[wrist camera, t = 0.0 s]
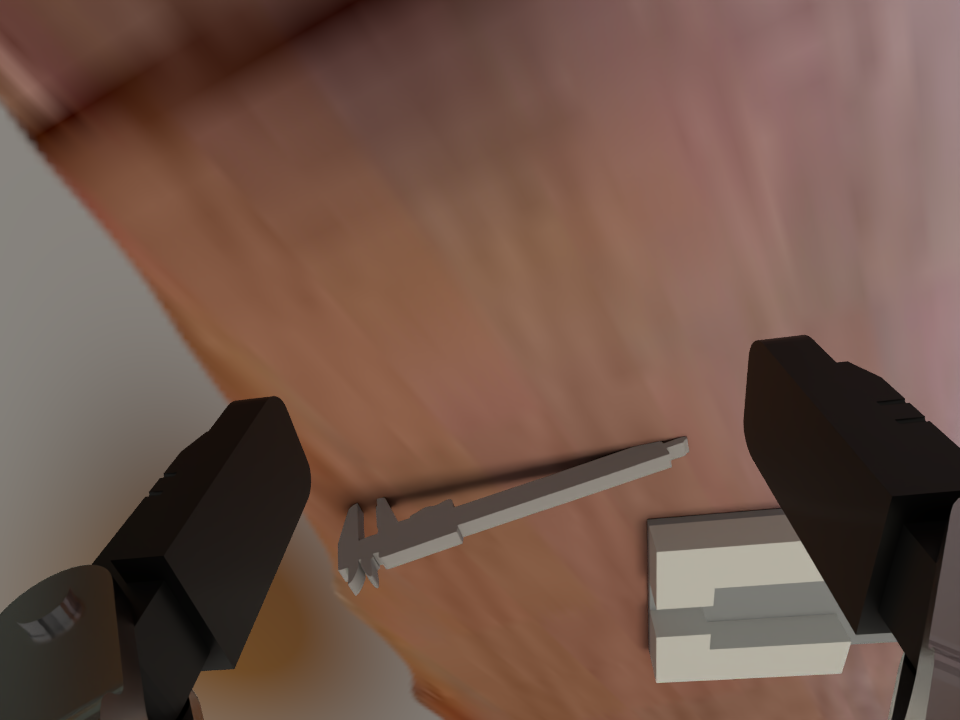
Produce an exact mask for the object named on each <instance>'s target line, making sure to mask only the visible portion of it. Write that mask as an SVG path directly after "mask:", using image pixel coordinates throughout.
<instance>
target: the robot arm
mask: <svg viewBox="0 0 960 720" xmlns="http://www.w3.org/2000/svg"><path fill="white" fill-rule="evenodd" d="M744 434H745V439H746V443H747V447H748V450H749V453H750V455H751V457H752V459H753V461H754V462H755V464H756V466H757V467H758V469H759V471H760V473H761V474H762V476H763V478H764V479H765V481H766V483H767V484H768V486H769V488H770V490H771V491H772V493H773V495H774V496H775V498H776V500H777V502H778V503H779V505H780V507H781V508H782V510H783V512H784V513H785V515H786V517H787V519H788V520H789V522H790V524H791V525H792V527H793V529H794V530H795V532H796V534H797V536H798V537H799V539H800V541H801V542H802V544H803V546H804V548H805V549H806V551H807V553H808V554H809V556H810V558H811V559H812V561H813V563H814V565H815V566H816V568H817V570H818V571H819V573H820V575H821V576H822V578H823V580H824V582H825V583H826V585H827V587H828V588H829V590H830V592H831V594H832V595H833V597H834V599H835V600H836V602H837V604H838V605H839V607H840V609H841V611H842V612H843V614H844V616H845V617H846V619H847V621H848V622H849V624H850V626H851V628H852V629H853V631H854V633H855V634H856V635H865V634H882V633H892V634H893V635H894V637H895V639H896V640H897V642H898V643H899V645H900V646H901V648H902V649H903V651H904V653H903V656H902V659H901V662H900V665H899V668H898V673H897V678H896V683H895V688H894V693H893V697H892V702H891V707H890V712H889V717H888V720H960V448H959V447H958V446H957V445H956V444H955V443H954V442H952V441H951V440H950V439H949V438H948V437H947V436H946V435H945V434H944V433H942V432H941V431H940V430H939V429H938V428H937V427H936V426H935V425H934V424H932V423H931V422H930V421H928V422H926V421H925V416H924V415H923V414H921V413H920V412H919V411H918V410H917V409H916V408H915V407H914V406H913V405H911V404H910V403H905V398H904V397H903V396H901V395H900V394H899V393H898V392H897V391H896V390H895V389H894V388H893V387H891V386H890V385H889V384H888V383H887V382H886V381H885V380H884V379H883V378H881V377H879V376H877V375H875V374H873V373H871V372H869V371H867V370H864V369H862V368H860V367H858V366H856V365H854V364H852V363H850V362H848V361H847V362H838V363H836V362H835V361H834V360H833V359H832V358H831V357H830V356H829V355H828V354H827V353H826V352H825V351H824V350H823V349H822V348H821V347H820V346H819V345H818V344H817V343H816V342H815V341H814V340H813V339H812V338H810V337H809V336H807V335H799V336H791V337H782V338H774V339H765V340H757V341H755V342H753V344H752V345H751V348H750V352H749V360H748V372H747V384H746V397H745V409H744ZM310 488H311V473H310V468H309V464H308V461H307V459H306V456H305V454H304V451H303V449H302V446H301V443H300V441H299V438H298V436H297V433H296V431H295V428H294V426H293V423H292V421H291V418H290V416H289V413H288V411H287V408H286V406H285V404H284V403H283V401H282V400H281V399H280V398H278V397H276V396H272V397H263V398H255V399H246V400H238V401H233V402H232V403H230V404H229V405H228V406H227V408H226V409H225V410H224V412H223V413H222V414H221V416H220V417H219V418H218V420H217V421H216V422H215V424H214V425H213V426H212V427H211V429H210V430H209V431H208V432H206V433H205V434H203V435H202V436H201V437H199V438H198V439H197V440H195V441H194V442H193V443H192V444H190V445H189V446H188V447H186V448H185V449H184V450H183V451H181V453H180V454H179V455H178V456H177V457H176V459H175V460H174V461H173V462H172V464H171V465H170V466H169V467H168V469H167V470H166V471H165V473H164V478H160V479H159V480H158V481H157V483H156V484H155V485H154V486H153V488H152V489H151V490H150V491H149V494H150V495H149V497H145V498H144V499H143V500H142V502H141V503H140V504H139V505H138V507H137V508H136V509H135V511H134V512H133V513H132V514H131V516H130V517H129V518H128V519H127V521H126V522H125V523H124V524H123V526H122V527H121V528H120V529H119V531H118V532H117V533H116V535H115V536H114V537H113V538H112V539H111V541H110V542H109V543H108V545H107V546H106V547H105V548H104V550H103V551H102V552H101V553H100V555H99V556H98V557H97V558H96V560H95V561H94V562H93V563H92V565H83V566H77V567H74V568H70V569H67V570H64V571H61V572H59V573H57V574H54V575H52V576H50V577H48V578H46V579H45V580H43V581H41V582H39V583H38V584H36V585H35V586H33V587H31V588H30V589H28V590H27V591H26V592H25V593H23V594H22V595H20V596H19V597H18V598H17V599H15V600H14V601H13V602H12V603H11V604H9V605H8V607H6V608H5V609H4V610H3V612H2V613H1V614H0V720H204V719H203V714H202V710H201V705H200V702H199V699H198V697H197V696H196V694H195V692H194V691H193V690H192V688H193V686H194V684H195V682H196V680H197V678H198V676H199V674H200V672H201V671H207V670H208V671H209V670H226V669H235V666H236V664H237V662H238V659H239V657H240V655H241V652H242V650H243V647H244V645H245V643H246V641H247V638H248V636H249V634H250V632H251V629H252V627H253V625H254V622H255V620H256V618H257V615H258V613H259V611H260V609H261V606H262V604H263V601H264V599H265V597H266V595H267V592H268V590H269V588H270V585H271V583H272V580H273V579H274V576H275V574H276V572H277V569H278V567H279V565H280V562H281V560H282V558H283V555H284V553H285V551H286V548H287V546H288V544H289V542H290V539H291V537H292V534H293V532H294V530H295V528H296V525H297V523H298V521H299V519H300V516H301V514H302V512H303V509H304V507H305V505H306V502H307V500H308V497H309V494H310Z"/></svg>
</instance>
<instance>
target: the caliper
mask: <svg viewBox="0 0 960 720" xmlns="http://www.w3.org/2000/svg"><path fill="white" fill-rule="evenodd" d="M688 452H689V447H688V441H687V437H681V438H677V439H674V440H672V441H669V442H666V443H662V441H660V442H655V443H650V444H645V445H640V446H635V447H631V448H628V449H626V450H623V451H620V452H617V453H614V454H611V455H608V456H605V457H602V458H599V459H596V460H593V461H591V462H588V463H585V464H582V465H579V466H576V467H573V468H570V469H567V470H564V471H561V472H558V473H556V474H553V475H550V476H547V477H544V478H541V479H538V480H535V481H532V482H529V483H526V484H523V485H520V486H517V487H514V488H511V489H508V490H505V491H502V492H499V493H496V494H493V495H490V496H487V497H484V498H481V499H478V500H475V501H472V502H469V503H466V504H463V505H460V506H457V507H455V506H454V504H453V502H452V500H451V499H448V500H445V501H443V502H442V503H440V504H438V505H435V506H429V507H425V508H423V509H422V510H420V511H418V512H417V513H415V514H413V515H412V516H410V518H409V519H406V520H403V521H400V522H398V521H397V519H396V517H395V515H394V513H393V512H392V510H391V508H390V506H389V504H388V503H387V501H386V499H385V498H384V497H383V498H379V499H377V506H376V517H377V527H378V534H375V535H372V536H369V537H367V538H364V514H363V512H362V510H361V509H360V507H359V505H358V503H357V504H355V505H353V506H352V507H351V508H349V511H348V514H347V516H346V519H345V523H344V526H343V529H342V533H341V536H340V539H339V543H338V571H339V572H340V574H341V575H342V577H343V578H344V580H345V581H346V582H347V581H348V585H349V586H350V588H351V590H352V591H353V593H354V594H355V596H356V595H357V594H358V593H359V592H360V590H361V588H362V586H363V584H364V581H365V574H366V575H367V577H368V578H369V580H370V581H371V583H372V584H373V585H374V586H375V587H376V588H378V587H379V578H378V573H377V570H378V569H379V568H380V565H382V564H383V565H384V566H385V568H386V569H390V568H393V567H396V566H399V565H402V564H405V563H408V562H411V561H413V560H416V559H419V558H422V557H425V556H428V555H431V554H433V553H436V552H439V551H442V550H445V549H448V548H451V547H454V546H456V545H459V544H462V543H463V537H465V536H468V535H471V534H474V533H477V532H480V531H483V530H486V529H489V528H492V527H495V526H498V525H501V524H504V523H507V522H510V521H513V520H516V519H519V518H522V517H525V516H528V515H531V514H534V513H537V512H540V511H543V510H546V509H549V508H552V507H555V506H558V505H561V504H564V503H567V502H570V501H573V500H576V499H579V498H582V497H585V496H588V495H591V494H594V493H597V492H600V491H603V490H605V489H608V488H611V487H614V486H617V485H620V484H623V483H626V482H629V481H632V480H635V479H638V478H641V477H644V476H647V475H650V474H653V473H656V472H659V471H661V470H664V469H667V468H670V467H672V465H671V460H673V459H676V458H679V457H682V456H685V455H686V453H688Z"/></svg>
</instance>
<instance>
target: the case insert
mask: <svg viewBox="0 0 960 720" xmlns="http://www.w3.org/2000/svg"><path fill="white" fill-rule="evenodd" d="M647 528H648V631H649V653H650V657H651V662H652V666H653V670H654V675H655V679H656V683H664V682H684V681H703V680H723V679H743V678H762V677H782V676H802V675H821V674H841V673H842V670H843V667H844V664H845V661H846V657H847V654H848V651H849V647H850V644H867V643H885V642H897V640H896V639H895V637H894V635H893V634H892V633H882V634H865V635H856V634H855V633H854V631H853V629H852V628H851V626H850V624H849V622H848V621H847V619H846V617H845V616H844V614H843V612H842V611H841V609H840V607H839V605H838V604H837V602H836V600H835V599H834V597H833V595H832V594H831V592H830V590H829V588H828V587H827V585H826V583H825V582H824V580H823V578H822V576H821V575H820V573H819V571H818V570H817V568H816V566H815V565H814V563H813V561H812V559H811V558H810V556H809V554H808V553H807V551H806V549H805V548H804V546H803V544H802V542H801V541H800V539H799V537H798V536H797V534H796V532H795V530H794V529H793V527H792V525H791V524H790V522H789V520H788V519H787V517H786V515H785V513H784V512H783V510H782V508H780V509H768V510H756V511H744V512H732V513H720V514H708V515H696V516H684V517H672V518H660V519H648V520H647Z"/></svg>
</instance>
